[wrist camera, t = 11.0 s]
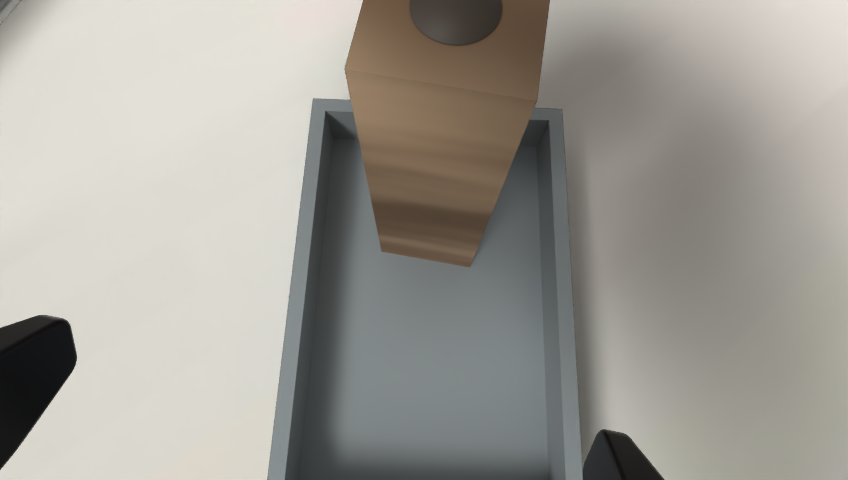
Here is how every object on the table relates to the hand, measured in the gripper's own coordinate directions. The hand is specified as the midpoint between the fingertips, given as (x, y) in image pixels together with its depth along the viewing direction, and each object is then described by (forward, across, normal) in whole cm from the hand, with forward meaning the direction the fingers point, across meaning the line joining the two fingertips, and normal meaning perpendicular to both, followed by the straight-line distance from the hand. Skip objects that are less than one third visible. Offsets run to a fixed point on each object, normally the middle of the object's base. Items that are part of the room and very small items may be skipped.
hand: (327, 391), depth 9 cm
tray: (+13, -1, +7) cm, 14 cm away
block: (+15, -1, +4) cm, 16 cm away
